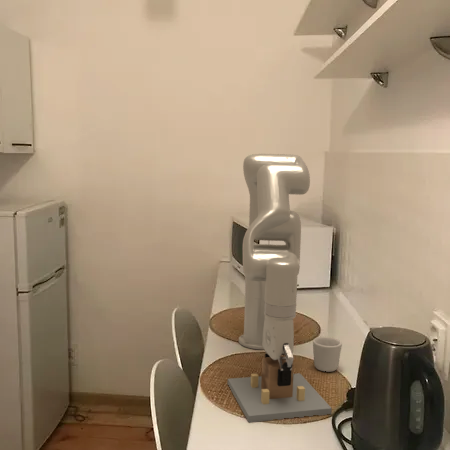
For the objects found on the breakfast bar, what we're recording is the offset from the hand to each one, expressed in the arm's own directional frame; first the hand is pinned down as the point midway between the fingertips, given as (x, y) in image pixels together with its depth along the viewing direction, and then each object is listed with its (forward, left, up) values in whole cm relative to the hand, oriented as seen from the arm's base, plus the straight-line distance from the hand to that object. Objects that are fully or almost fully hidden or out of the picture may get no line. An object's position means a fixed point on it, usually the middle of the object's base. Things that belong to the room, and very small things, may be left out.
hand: (277, 376), depth 130 cm
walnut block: (0, 0, -4) cm, 4 cm away
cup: (-16, +21, -6) cm, 27 cm away
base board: (0, 0, -6) cm, 6 cm away
